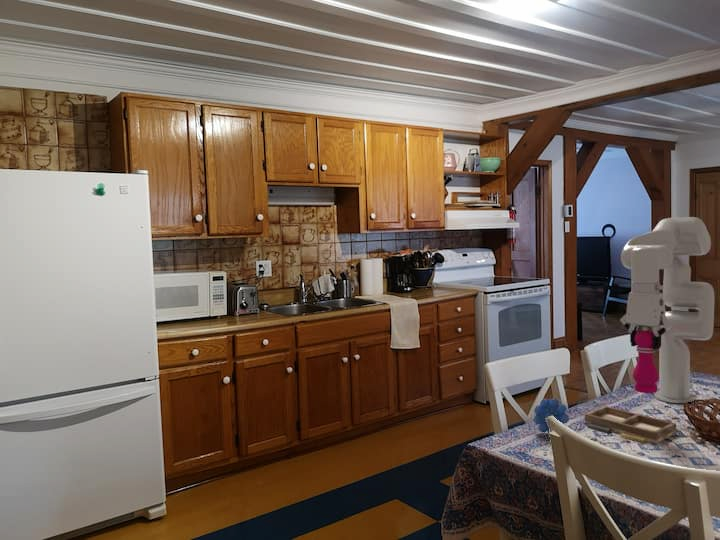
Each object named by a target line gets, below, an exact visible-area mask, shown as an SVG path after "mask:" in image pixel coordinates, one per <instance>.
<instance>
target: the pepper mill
mask: <svg viewBox="0 0 720 540" xmlns="http://www.w3.org/2000/svg"><path fill="white" fill-rule="evenodd" d="M641 327H642V328H641V329H642V330H640V331H637V332H638V333H636V335H635V342H636V344H637V345H636V346H635V347H636V352H637V355H638V357H637V362H636V364H635V366H634V369H633V371H632V379H633V380H634V381H635V383H634V386H633V387H634V388H633V389H634V391H635V392H638V393H642V394H655V393H656V392H657V391H658V385H657V384H656V383H657V382H659V370H658V369H657V367H656V365H655V362H654V353H655V352H656V351H655V350H654V349H653V336H654V332H653V331H651V330H650V329H649V326H641Z"/></svg>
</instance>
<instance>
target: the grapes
mask: <svg viewBox="0 0 720 540" xmlns="http://www.w3.org/2000/svg"><path fill="white" fill-rule="evenodd" d="M533 412H534V414H535V416H534V417H533V422H534V423H535V425H538V431H540V432H541V433H543V432H544V433H547V434H548V433H549V427H548V425H547V422H546V421H545V420H546V419H545V418H547V417H548V416H551V415H553V416H554V417H555V418H556V419H557V420H559V421H560V422H562V423H563V424H564V425H565V426H566V424H567V423H568V422H569V421H570V416H569V415H568V414H567V413H566V412H567V406H566V405H565V404H564V403H559V400H558V399H557V398H555V397H553V398H551V399H550V400H549V399H548V398H543V399H541V400H540V403H539V405H538V404H537V405H536V406H535V407H534V410H533Z"/></svg>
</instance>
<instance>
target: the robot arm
mask: <svg viewBox="0 0 720 540" xmlns="http://www.w3.org/2000/svg"><path fill="white" fill-rule="evenodd" d="M711 240H712V239H711V236H710V233H709V231H708V228H707V226H706V224H705V223H704V222H703V220H702V219H700V218H699V217H695V216H685V217H682V216H680V217H668V218H664V219H661V220H659V222H658V223H657V224H656V226H655V227H654V228H653V229H652V231H648V232H646V233H644V234H641V235H638V236H635V237H633V238H631V239H629V240H628V241H627V242H626V244H625V245H624V246H623V248H622V251H621V254H620V260H621V264H622V266H623V267H624V268H626V269H629V270H630V280H631V281H630V283H631V285H630V286H631V287H630V289H631V290H630V292H629V293H628V296H627V304H626V313H625V314H624V315H623V316H622V317H621V318H620V319H619V321H620V322H621V323H622V325H623V326H624V327H625V329H627V331H628V333H629V336H630V337H629V342H630V346H631V347H637V346H638V345H637V344H636V342H635V335H636V333H638V332H639V331H638V328H639V326H641V327H643V326H648V328H649V327H650V328H651V329H652V332H653V333H654V336H653V349H654V350H658V352H659V354H658V355H659V356H658V357H659V359H658V360H659V370H658V373H659V380H658V382H659V390H657V392H655V393H654V398H655V399H657V400H659V401H662V402H666V403H671V404H689V403H688V402H691V403H692V401H693V402H694V401H696V398H695V397H696V396H694V395H693V394H692V393H691V391H690V390H692V389H693V388H694V386H693V384H692V383H691V380H690V375H691V374H690V373H691V372H690V370H691V369H690V366H691V365H690V364H691V363H690V362H691V361H690V360H691V359H690V357H691V356H690V355H691V354H690V350H689V347H688V345H687V344H686V343H685V342H684V340H693V341H709V340H710V339H711V338H712V336H713V334H714V327H715V326H714V325H715V323H714V320H715V291H714V288H713V286H712V284H710V283H708V282H704V281H691V279H692V278H691V277H692V276H691V275H692V274H691V273H692V269H691V266H690V264H689V263H688V261H686V260H685V259H684V257H682V256H703V255H704V256H705V255H707V254H708V253H709V251H710V250H711V246H712V241H711ZM660 270H663V285H661V282H660ZM660 291H662V292H660ZM666 306H667V307H669V308H675V309H676V308H677V309H691V310H697V311H698V312H693V311H692V312H691V311H677V310H675V311H674V310H670V311H669V310H667V311H666Z"/></svg>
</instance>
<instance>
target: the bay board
mask: <svg viewBox="0 0 720 540" xmlns="http://www.w3.org/2000/svg"><path fill="white" fill-rule="evenodd" d="M584 424H586V427H587V428H589V429H592V430H593V429H594V430H596V431H599V432H603V433H606V434H609V433H611V432H614V433H617V432H618V433H617V434H619V437H620V438H623V439H628V440H630V441H634V442H637V443H640V444H644V443H645V444H646V442H649V443H653V444H657V443H660V442H662V441H664V440H665V439H667V438H670V437H671V436H673V435H675V434H677V423H675V422H672V421H667V420H664V419H660V418H655V417H650V416H646V415H643V414H639V413H635V412H631V411H627V410H622V409H619V408H615V407H610V406H607V405H605V406H602V407H599V408H597V409H595V410H592V411H590V412H589V411H588V412H587V413H584Z"/></svg>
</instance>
